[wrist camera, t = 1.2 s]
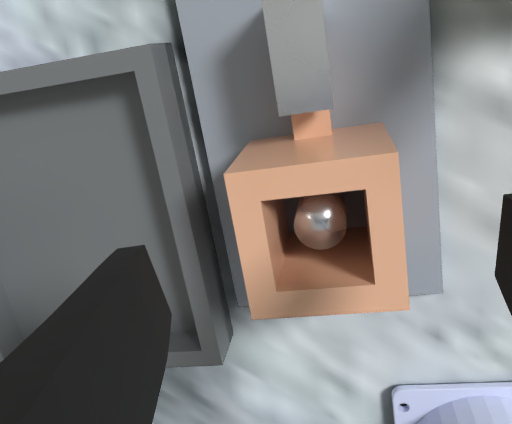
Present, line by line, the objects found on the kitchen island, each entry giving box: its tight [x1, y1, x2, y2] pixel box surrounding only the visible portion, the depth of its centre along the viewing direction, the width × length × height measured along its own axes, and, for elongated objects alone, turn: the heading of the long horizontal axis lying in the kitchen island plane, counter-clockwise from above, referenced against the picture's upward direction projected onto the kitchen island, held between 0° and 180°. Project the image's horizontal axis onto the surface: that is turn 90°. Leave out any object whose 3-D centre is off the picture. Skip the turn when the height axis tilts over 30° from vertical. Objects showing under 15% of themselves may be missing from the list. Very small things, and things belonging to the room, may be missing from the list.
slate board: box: [175, 0, 443, 307], centre depth 19 cm, size 14×9×1 cm, turn 10°
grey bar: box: [261, 0, 347, 250], centre depth 17 cm, size 8×2×4 cm, turn 10°
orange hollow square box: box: [224, 109, 410, 320], centre depth 17 cm, size 9×5×5 cm, turn 10°
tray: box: [0, 43, 233, 368], centre depth 21 cm, size 14×12×2 cm
